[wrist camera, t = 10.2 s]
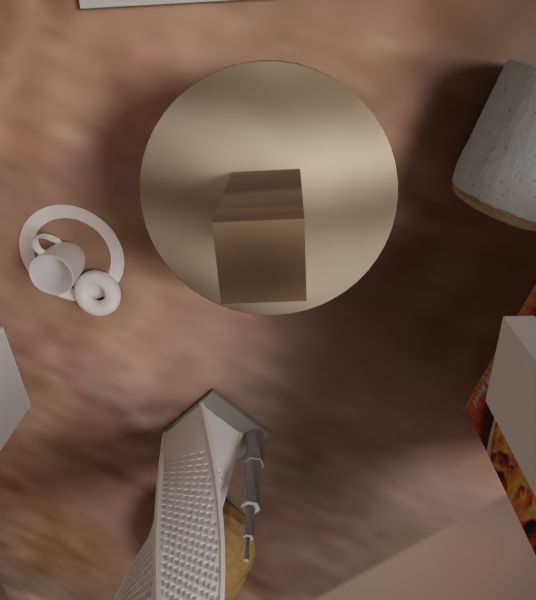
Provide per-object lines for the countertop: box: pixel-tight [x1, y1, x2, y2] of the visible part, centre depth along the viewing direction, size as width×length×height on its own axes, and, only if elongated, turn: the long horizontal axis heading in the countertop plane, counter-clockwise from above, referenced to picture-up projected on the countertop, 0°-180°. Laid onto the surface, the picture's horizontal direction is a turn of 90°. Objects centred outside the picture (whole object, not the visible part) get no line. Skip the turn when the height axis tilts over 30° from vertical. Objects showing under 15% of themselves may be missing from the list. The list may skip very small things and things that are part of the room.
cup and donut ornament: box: [19, 204, 124, 316], centre depth 37 cm, size 9×8×4 cm
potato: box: [222, 501, 256, 600], centre depth 48 cm, size 10×14×8 cm
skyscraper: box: [114, 389, 270, 600], centre depth 34 cm, size 8×8×28 cm
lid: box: [140, 60, 398, 315], centre depth 25 cm, size 14×14×11 cm
